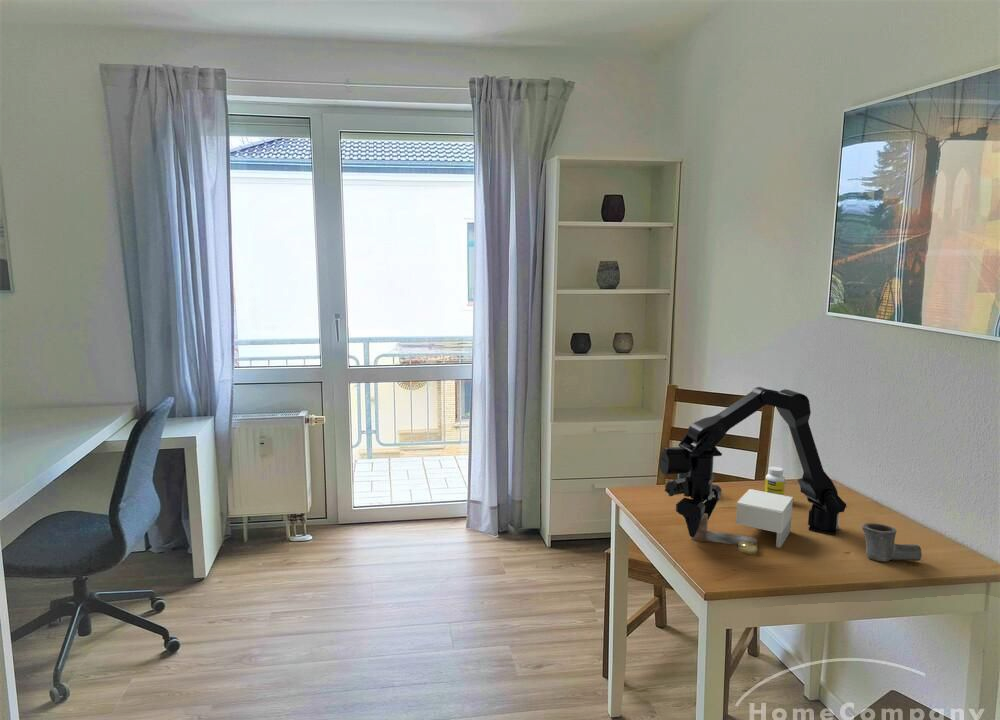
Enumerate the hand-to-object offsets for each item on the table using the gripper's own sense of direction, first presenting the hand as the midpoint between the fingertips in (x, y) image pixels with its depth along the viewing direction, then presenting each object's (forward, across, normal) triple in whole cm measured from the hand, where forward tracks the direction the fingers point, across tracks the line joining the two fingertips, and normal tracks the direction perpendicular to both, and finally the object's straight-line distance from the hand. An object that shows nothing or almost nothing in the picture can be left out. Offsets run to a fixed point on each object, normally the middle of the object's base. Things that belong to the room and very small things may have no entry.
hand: (697, 530), depth 170 cm
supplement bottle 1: (+2, -35, -14) cm, 38 cm away
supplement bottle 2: (+2, -41, +10) cm, 42 cm away
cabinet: (+2, -12, +14) cm, 18 cm away
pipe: (+2, -14, +42) cm, 44 cm away
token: (+2, +1, +13) cm, 13 cm away
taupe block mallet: (+2, -2, +6) cm, 7 cm away
